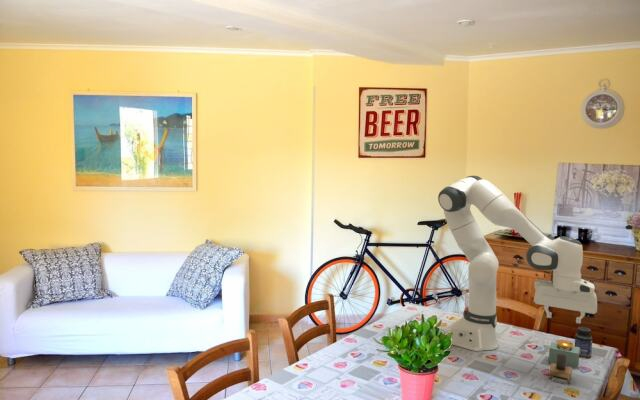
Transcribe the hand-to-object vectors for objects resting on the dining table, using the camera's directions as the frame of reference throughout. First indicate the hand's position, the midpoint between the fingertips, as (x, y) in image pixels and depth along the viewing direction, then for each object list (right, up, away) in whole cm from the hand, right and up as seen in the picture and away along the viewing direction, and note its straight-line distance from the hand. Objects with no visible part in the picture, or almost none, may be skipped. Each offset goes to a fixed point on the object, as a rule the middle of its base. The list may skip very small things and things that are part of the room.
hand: (563, 320), depth 173 cm
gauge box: (+8, -20, +15) cm, 27 cm away
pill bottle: (+19, -20, +22) cm, 35 cm away
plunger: (+8, -18, +15) cm, 25 cm away
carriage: (0, -22, +2) cm, 22 cm away
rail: (+2, -21, +5) cm, 22 cm away
